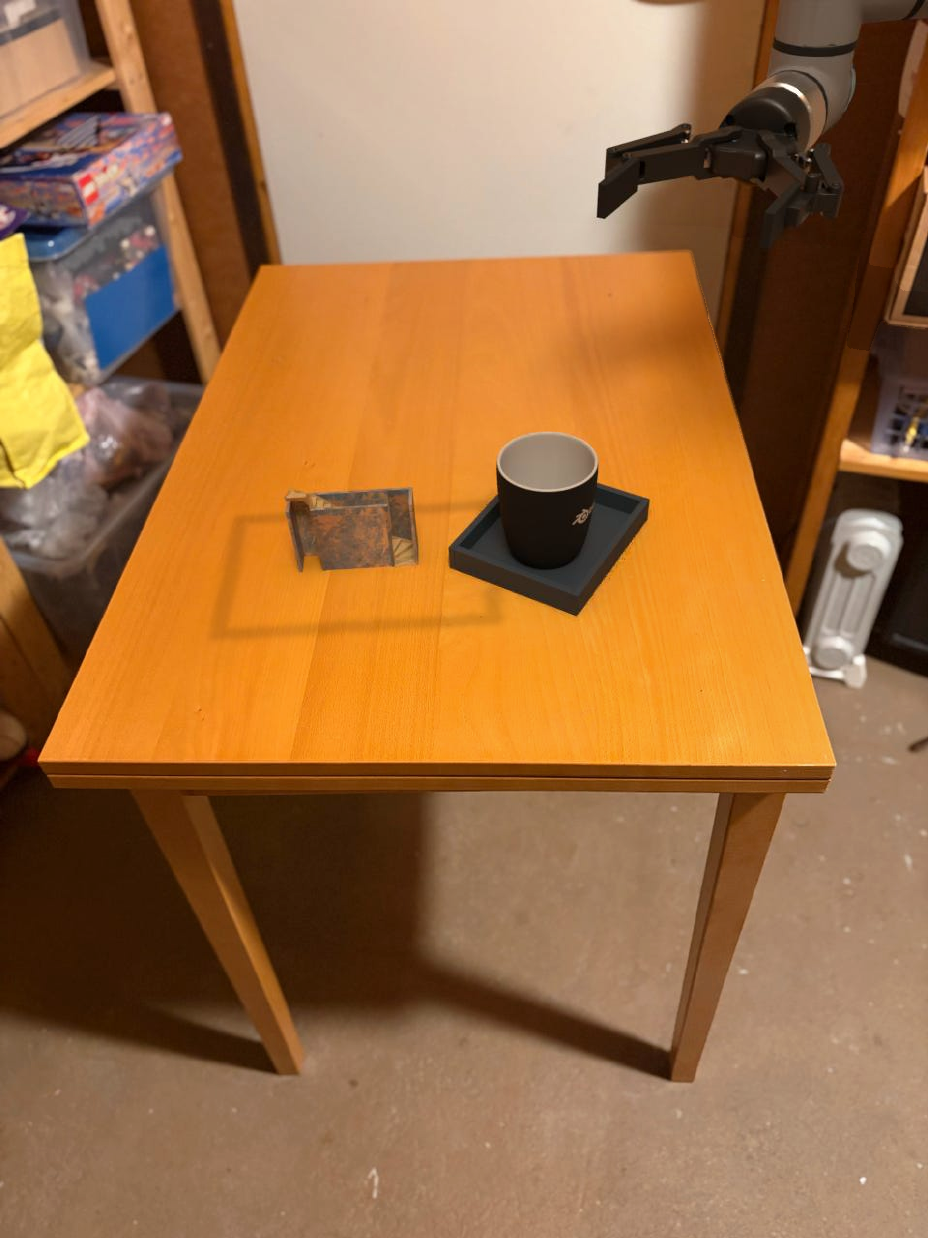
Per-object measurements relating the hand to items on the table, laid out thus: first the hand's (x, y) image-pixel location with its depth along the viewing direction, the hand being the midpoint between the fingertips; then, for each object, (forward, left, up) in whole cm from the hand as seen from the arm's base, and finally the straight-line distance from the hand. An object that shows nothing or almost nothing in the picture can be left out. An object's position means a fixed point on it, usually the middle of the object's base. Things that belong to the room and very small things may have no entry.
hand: (680, 215), depth 72 cm
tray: (+6, +10, -29) cm, 31 cm away
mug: (+6, +10, -28) cm, 30 cm away
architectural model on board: (+21, +21, -29) cm, 41 cm away
